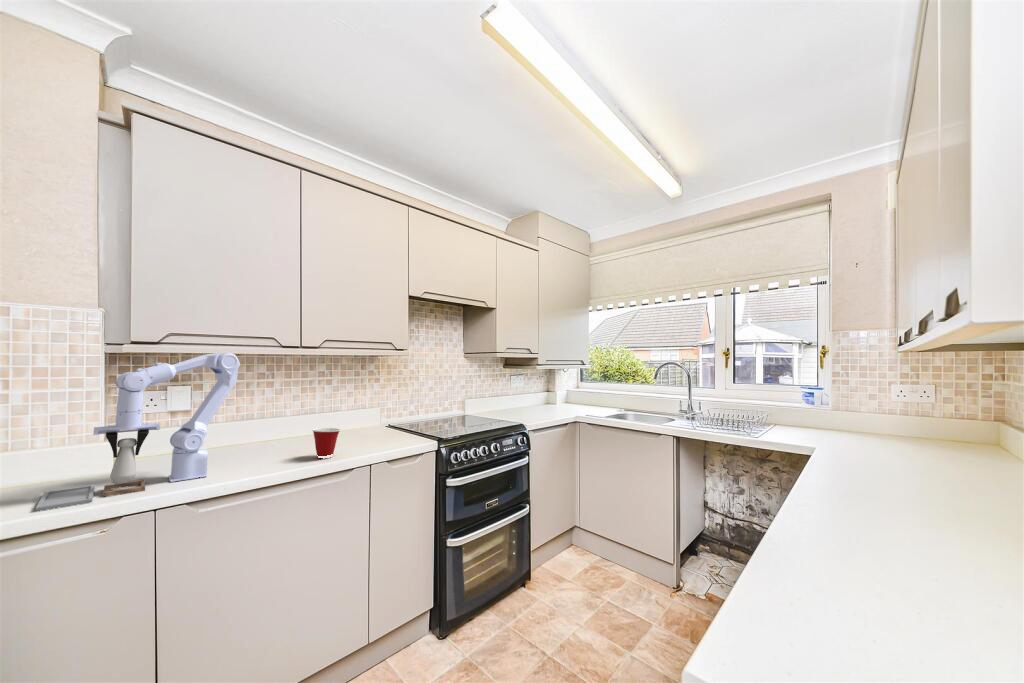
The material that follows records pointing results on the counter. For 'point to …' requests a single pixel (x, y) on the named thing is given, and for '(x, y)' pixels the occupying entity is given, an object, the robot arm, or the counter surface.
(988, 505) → the counter surface
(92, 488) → the grey tray
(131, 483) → the walnut collar
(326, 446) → the plastic cup
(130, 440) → the salt shaker
